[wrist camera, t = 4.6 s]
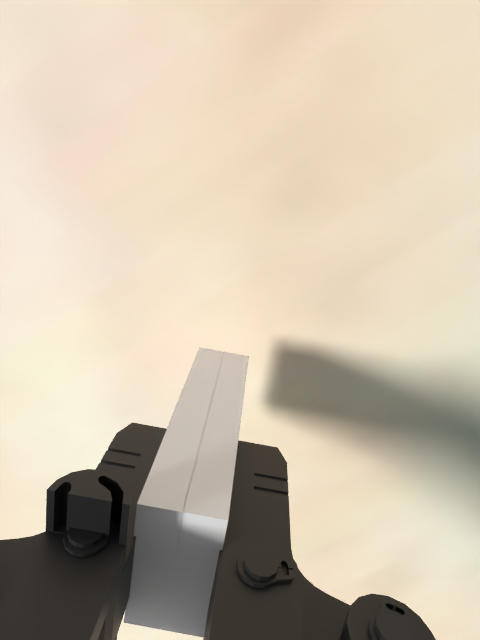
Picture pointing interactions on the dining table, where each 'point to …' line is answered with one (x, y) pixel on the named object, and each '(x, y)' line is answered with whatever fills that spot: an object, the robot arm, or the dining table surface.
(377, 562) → the dining table surface
